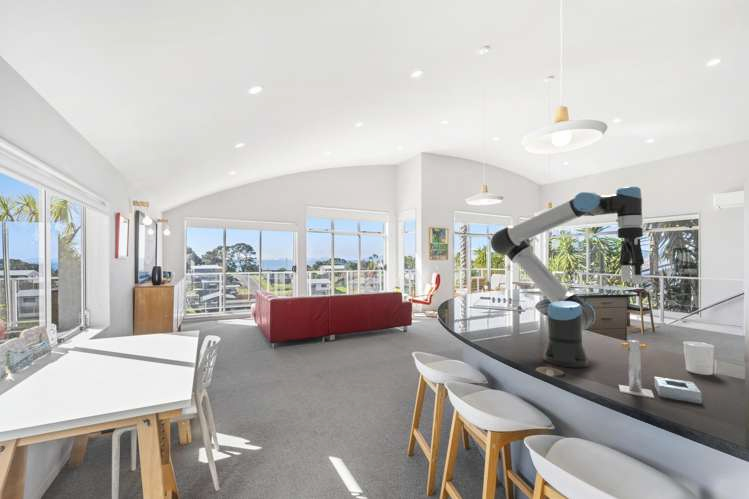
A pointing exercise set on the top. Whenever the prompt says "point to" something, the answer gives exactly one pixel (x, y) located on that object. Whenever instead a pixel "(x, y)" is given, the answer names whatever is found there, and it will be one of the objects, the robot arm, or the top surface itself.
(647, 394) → the mat
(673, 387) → the block
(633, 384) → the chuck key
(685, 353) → the white cup
